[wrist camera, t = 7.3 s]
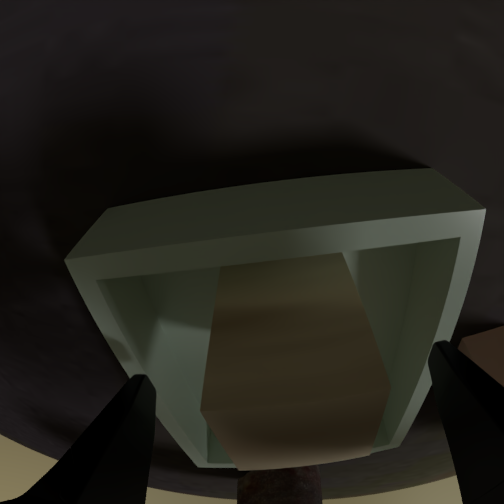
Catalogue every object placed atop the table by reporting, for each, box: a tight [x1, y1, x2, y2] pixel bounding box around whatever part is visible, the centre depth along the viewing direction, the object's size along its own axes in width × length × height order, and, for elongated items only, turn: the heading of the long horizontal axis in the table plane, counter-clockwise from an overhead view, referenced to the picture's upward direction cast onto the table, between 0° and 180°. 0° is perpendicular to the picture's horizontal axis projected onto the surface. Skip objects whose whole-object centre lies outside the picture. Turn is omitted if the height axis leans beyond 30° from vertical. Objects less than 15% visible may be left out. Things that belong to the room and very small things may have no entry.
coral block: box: [458, 326, 504, 387], centre depth 13 cm, size 4×4×6 cm
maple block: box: [200, 252, 391, 471], centre depth 10 cm, size 4×4×6 cm
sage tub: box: [64, 168, 486, 468], centre depth 13 cm, size 15×12×4 cm
